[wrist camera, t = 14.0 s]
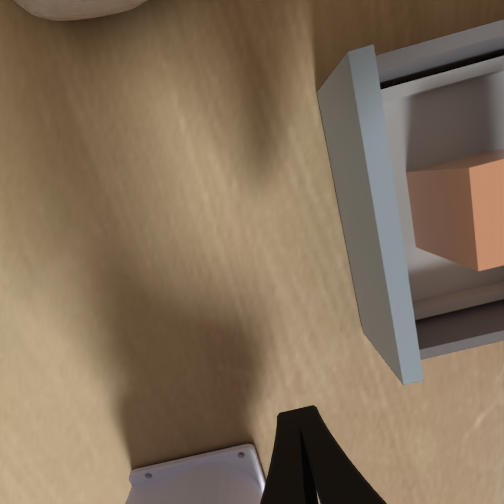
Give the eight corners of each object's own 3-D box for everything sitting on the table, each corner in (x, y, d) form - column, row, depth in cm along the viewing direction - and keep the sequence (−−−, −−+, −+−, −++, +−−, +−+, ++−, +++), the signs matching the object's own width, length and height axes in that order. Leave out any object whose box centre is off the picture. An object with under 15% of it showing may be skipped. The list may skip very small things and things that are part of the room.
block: (416, 247, 18) (478, 271, 13) (405, 172, 17) (468, 167, 12) (491, 228, 18) (583, 246, 13) (485, 151, 17) (582, 138, 12)
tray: (363, 332, 20) (403, 385, 15) (316, 92, 17) (347, 51, 11) (543, 289, 19) (651, 328, 14) (533, 32, 16) (669, -40, 11)
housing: (379, 327, 20) (419, 371, 15) (336, 87, 17) (371, 50, 12) (556, 284, 19) (653, 317, 15) (548, 28, 16) (670, -35, 11)
